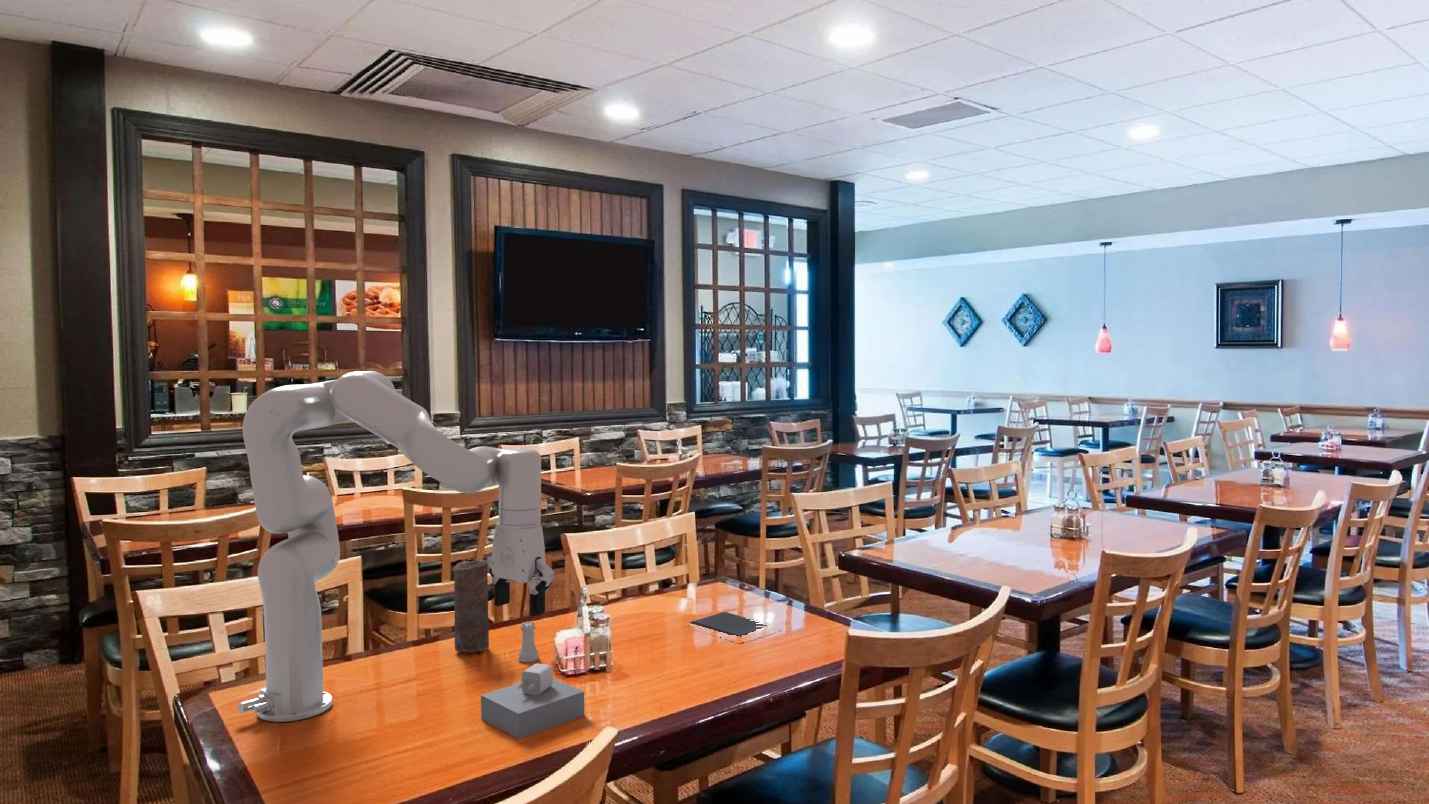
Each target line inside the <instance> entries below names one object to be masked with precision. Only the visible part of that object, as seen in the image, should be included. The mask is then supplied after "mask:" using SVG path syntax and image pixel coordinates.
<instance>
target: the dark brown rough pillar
mask: <svg viewBox="0 0 1429 804" xmlns="http://www.w3.org/2000/svg"><path fill="white" fill-rule="evenodd" d="M453 571H454V572H453V580H454V581H453V582H454V583H453V584H454V586H453V588H454V589H453V591H454V595H453V597H454V599H453V601H454V613H453V615H454V623H453V624H454V649H455V651H456V652H458V653H467V654H468V653H477V652H481V651H484V650H488V649H489V647H490V642H489V641H490V638H489V637H490V636H489V635H490V629H489V625H490V624H489V585H488V584H489V583H488V580H489V579H488V578H489V577H488V563H487V560H485V559H484V560H483V559H482V560H472V561H461V562H458V563H456V565H455V566H454V567H453Z"/></svg>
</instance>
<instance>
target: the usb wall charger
mask: <svg viewBox="0 0 1429 804" xmlns="http://www.w3.org/2000/svg"><path fill="white" fill-rule="evenodd" d="M553 673H554V671H553V666H552V665H550V664H545V663H543V664H542V663H534V664H533V665H531V666H530V667H528V668H526V669H525V670H524V671H522V672H521V675H520V677H521V682H520V683H521V684H520V685H519V689H520V688H522V691H523V692H524V693H528V694H536V695H539V694H541V693H542V692H543V691H545V690H546V689H548V688H549V687H550V686H552V684H553V678H554V674H553Z"/></svg>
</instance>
